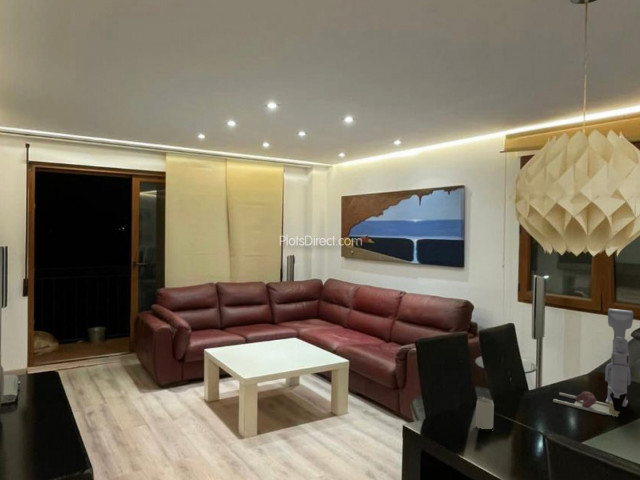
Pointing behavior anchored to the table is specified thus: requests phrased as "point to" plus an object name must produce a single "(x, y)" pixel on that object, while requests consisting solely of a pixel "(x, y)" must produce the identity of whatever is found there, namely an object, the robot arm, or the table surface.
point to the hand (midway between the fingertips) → (617, 409)
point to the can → (484, 413)
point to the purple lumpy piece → (586, 399)
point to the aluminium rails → (579, 405)
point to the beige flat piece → (602, 408)
